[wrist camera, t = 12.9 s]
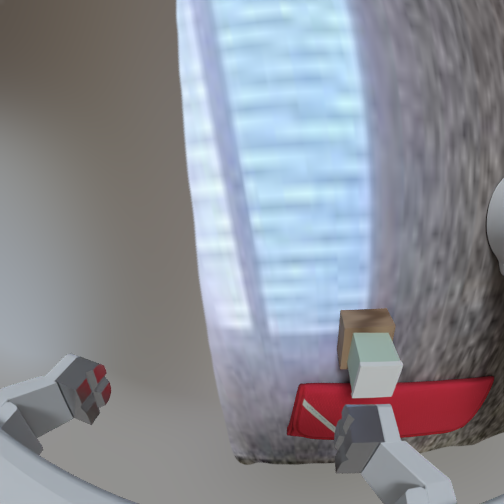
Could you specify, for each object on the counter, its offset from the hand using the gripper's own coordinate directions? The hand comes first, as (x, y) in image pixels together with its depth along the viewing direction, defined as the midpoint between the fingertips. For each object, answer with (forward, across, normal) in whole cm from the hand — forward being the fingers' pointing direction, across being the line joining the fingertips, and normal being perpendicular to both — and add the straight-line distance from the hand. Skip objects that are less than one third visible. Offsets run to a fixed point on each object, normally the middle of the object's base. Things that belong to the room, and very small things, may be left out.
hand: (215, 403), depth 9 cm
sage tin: (+26, -14, +16) cm, 34 cm away
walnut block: (+31, -14, +16) cm, 38 cm away
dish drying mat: (+32, -26, +34) cm, 54 cm away
